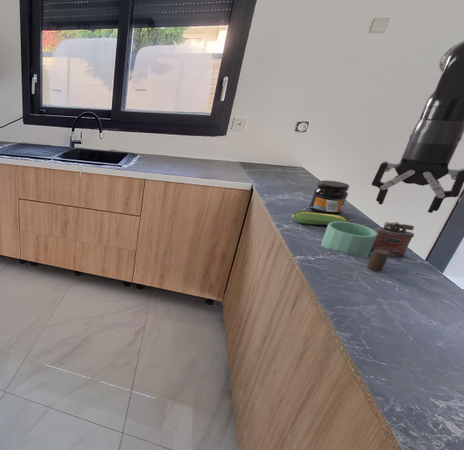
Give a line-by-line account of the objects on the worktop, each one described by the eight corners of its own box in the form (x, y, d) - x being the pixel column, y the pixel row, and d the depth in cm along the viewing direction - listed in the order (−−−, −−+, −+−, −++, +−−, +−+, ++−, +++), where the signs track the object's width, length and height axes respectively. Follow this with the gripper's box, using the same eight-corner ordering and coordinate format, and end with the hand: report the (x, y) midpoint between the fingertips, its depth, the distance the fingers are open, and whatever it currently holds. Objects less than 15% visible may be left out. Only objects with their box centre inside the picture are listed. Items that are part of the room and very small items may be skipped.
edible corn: (288, 219, 121) (292, 208, 120) (351, 225, 115) (356, 214, 113) (292, 224, 117) (296, 213, 115) (358, 231, 111) (363, 219, 109)
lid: (405, 274, 85) (416, 251, 82) (401, 293, 78) (413, 268, 75) (347, 258, 94) (355, 237, 91) (338, 273, 86) (347, 251, 83)
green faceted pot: (370, 250, 98) (379, 228, 95) (364, 263, 91) (374, 240, 88) (325, 238, 106) (332, 218, 103) (317, 249, 99) (324, 228, 96)
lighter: (369, 251, 97) (381, 222, 93) (367, 247, 100) (379, 218, 96) (405, 258, 93) (419, 228, 89) (402, 253, 95) (416, 224, 91)
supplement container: (331, 218, 122) (341, 188, 117) (302, 209, 131) (311, 182, 126) (346, 213, 126) (357, 185, 121) (318, 205, 135) (327, 178, 130)
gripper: (483, 141, 67) (448, 211, 73) (391, 135, 77) (367, 197, 83) (485, 145, 63) (447, 219, 69) (387, 139, 73) (362, 204, 79)
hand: (404, 207), depth 76 cm, fingers open, 8 cm apart
